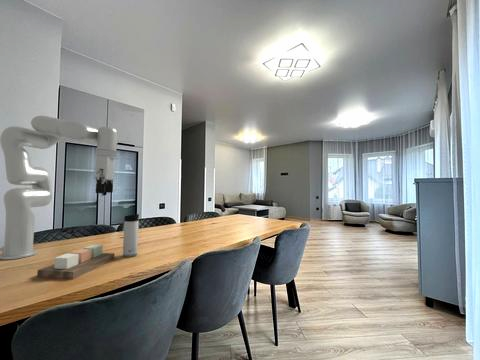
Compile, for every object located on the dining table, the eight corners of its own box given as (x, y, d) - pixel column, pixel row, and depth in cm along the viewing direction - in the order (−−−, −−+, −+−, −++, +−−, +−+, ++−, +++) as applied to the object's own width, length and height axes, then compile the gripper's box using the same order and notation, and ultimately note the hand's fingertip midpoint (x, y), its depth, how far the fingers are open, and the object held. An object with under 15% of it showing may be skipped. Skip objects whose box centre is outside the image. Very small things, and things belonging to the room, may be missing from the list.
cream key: (54, 268, 79) (54, 257, 79) (66, 263, 84) (66, 253, 84) (66, 269, 79) (67, 258, 79) (78, 264, 84) (78, 254, 84)
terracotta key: (69, 262, 86) (70, 252, 86) (79, 258, 91) (80, 248, 91) (81, 263, 85) (81, 252, 85) (91, 259, 90) (91, 249, 90)
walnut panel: (37, 276, 78) (37, 269, 78) (85, 257, 99) (86, 252, 100) (73, 279, 76) (73, 271, 76) (114, 258, 98) (114, 253, 98)
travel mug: (131, 257, 100) (133, 214, 101) (119, 256, 101) (121, 214, 102) (140, 253, 106) (142, 213, 107) (129, 252, 108) (130, 212, 108)
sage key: (82, 257, 92) (83, 247, 92) (91, 253, 97) (92, 244, 97) (93, 257, 92) (94, 248, 92) (102, 254, 97) (102, 245, 97)
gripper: (104, 157, 104) (103, 192, 104) (88, 151, 88) (85, 193, 87) (121, 157, 106) (120, 192, 105) (108, 152, 89) (106, 193, 89)
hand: (104, 192), depth 96 cm, fingers open, 9 cm apart
